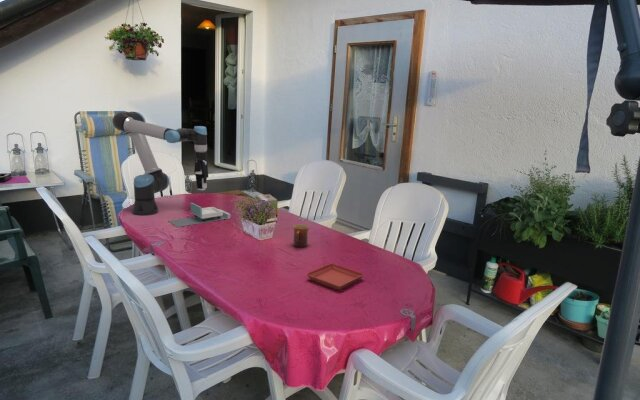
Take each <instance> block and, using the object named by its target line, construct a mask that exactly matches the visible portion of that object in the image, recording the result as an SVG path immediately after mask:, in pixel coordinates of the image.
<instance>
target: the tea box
mask: <svg viewBox="0 0 640 400" xmlns="http://www.w3.org/2000/svg"><path fill="white" fill-rule="evenodd" d="M254 199H259V200H265V201H267V202H269V203H271V204H272V205H273V206H274V208H275V210H274V211H275V215H276V218H277V219H278V206H279V205H278V203H279V202H278V199H277V198H276V197H275V196H272V195H271V194H256V195H255V198H254Z"/></svg>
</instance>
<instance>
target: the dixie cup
mask: <svg viewBox="0 0 640 400" xmlns="http://www.w3.org/2000/svg"><path fill="white" fill-rule="evenodd" d="M194 175H195V184H196V183H197V186H196V188H197V191H205V190H206V188H202V177H203V176H202V171H200V172H195V174H194Z"/></svg>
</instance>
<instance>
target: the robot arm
mask: <svg viewBox="0 0 640 400" xmlns="http://www.w3.org/2000/svg"><path fill="white" fill-rule="evenodd" d="M111 122H112V126H113V127H114V128H115V129H116V130H117V131H120V132H124V133H126V135H127V136H128V137H130V138H131V141H132V144H133V146H134V148H135V150H136V153H137V156H138V158H139V161H140V163H141V165H142V168H143V170H144V172H143V173H144V174H139V175H137V176H135V177H134V178H133V192H134V202H133V206H132V214H133V215H136V216H149V215H150V214H151V215H154V214H157V213H158V212H159V208H158V205H157V203H156V198H155V194H157V193H160V192H163V191H165V190H167V188H168V187H169V185H170V178H169V175H167V174H166V173H165V172H163V170H162V168H160V167H159V166H158V164H157V162H156V158H155V157H154V154H153V150H151V146H150V144H149V142H148V139H147V137H150V138H151V137H152V138H155V139H159V140H163V141H166V142H167V143H169V144H176V143H181V142H193V143H194V147H193V148H194V169H193V170H194V175H195V172H202V176H203V177H202V188H205V189H207V187H208V186H207V184H208V183H207V181H208V180H207V178H209V168H208V167H209V165H208V163H209V162H208V161H206V158H208V152H207V151H208V142H207V141H208V137H207V136H208V132H207V131H208V130H207V127H206V126H202V125H199V126H198V125H195V126H194V127H193V128H184V127H182V128H181V127H180V128H179V127H178V128H176V129H174V128H169V127H166V126H161V125H158V124H153V123H149V122H146V119H145V117H144V115H143V114H142V113H140V112H137V111H121V112H116V114H114V116H113V117H112V121H111ZM195 185H196V187H197V183H196V182H195ZM151 215H150V216H151Z"/></svg>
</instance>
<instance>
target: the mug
mask: <svg viewBox="0 0 640 400" xmlns="http://www.w3.org/2000/svg"><path fill="white" fill-rule="evenodd" d="M292 229H293V238H292V239H293V246H295V247H297V248H304V247H306V246H307V245H308V243H309V241H308V239H309V237H308V236H309V234H308V233H309V230H310V226H309V225H307V224H301V223H299V224H294V225H292Z"/></svg>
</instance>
